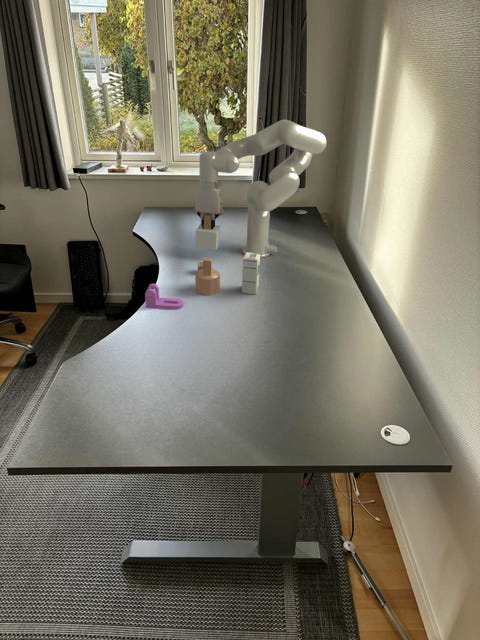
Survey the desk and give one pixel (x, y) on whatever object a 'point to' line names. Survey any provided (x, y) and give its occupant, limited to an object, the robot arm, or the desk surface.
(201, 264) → the beech cube
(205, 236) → the white block
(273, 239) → the desk surface
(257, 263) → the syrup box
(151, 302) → the bracket
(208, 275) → the wooden octagon with knob
